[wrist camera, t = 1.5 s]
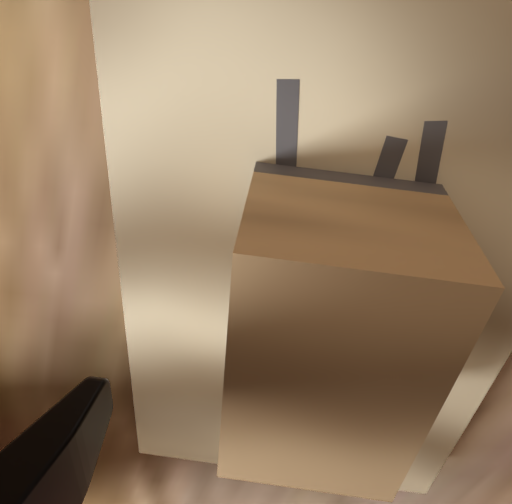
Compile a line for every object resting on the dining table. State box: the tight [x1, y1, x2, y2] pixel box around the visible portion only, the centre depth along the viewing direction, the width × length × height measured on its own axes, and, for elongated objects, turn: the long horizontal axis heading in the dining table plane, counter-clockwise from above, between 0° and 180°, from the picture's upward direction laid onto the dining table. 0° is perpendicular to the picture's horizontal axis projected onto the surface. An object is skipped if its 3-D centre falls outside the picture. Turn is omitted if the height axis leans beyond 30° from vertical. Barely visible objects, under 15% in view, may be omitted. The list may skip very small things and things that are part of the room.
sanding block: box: [217, 162, 505, 502], centre depth 11 cm, size 7×4×4 cm, turn 175°
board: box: [89, 0, 512, 494], centre depth 13 cm, size 20×12×2 cm, turn 175°
